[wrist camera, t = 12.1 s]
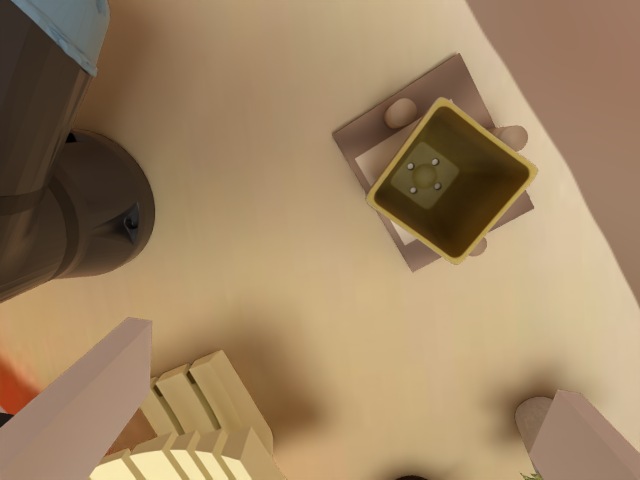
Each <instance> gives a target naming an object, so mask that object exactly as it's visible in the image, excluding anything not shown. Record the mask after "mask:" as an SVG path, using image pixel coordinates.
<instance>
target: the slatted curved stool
mask: <svg viewBox="0 0 640 480" xmlns="http://www.w3.org/2000/svg"><path fill="white" fill-rule="evenodd" d="M139 408H140V409H141V411H142V412H143V414H144V415H145V417H146V418H147V420H148V421H149V423H150V424H151V426H152V428H153V429H154V431H155V433H156V434H157V436H158V437H156V438H154V439H151V440H148V441H145V442H143V443H140V444H137V445H136V447H135V448H134V449H133V451H132V452H131V451H130V450H129V449H128V448H127V449H124V450H121V451H119V452H116V453H113V454H111V455H108V456H105V457H103V458H102V459H101V461H100V462H99V464H98V465H97V466H96V468H95V469H94V470H93V472H92V473H91V475H90V476H89V477H88V479H87V480H287V479H286V477H285V476H284V475H283V473H282V472H281V471H280V469H279V468H278V466H277V465H276V463H275V462H274V461H273V459H272V456H273V436H272V432H271V430H270V428H269V426H268V424H267V423H266V421H265V419H264V418H263V416H262V414H261V413H260V411H259V409H258V408H257V406H256V404H255V403H254V401H253V400H252V398H251V396H250V395H249V393H248V391H247V390H246V388H245V386H244V385H243V383H242V381H241V380H240V378H239V376H238V375H237V373H236V371H235V370H234V368H233V366H232V365H231V363H230V362H229V360H228V358H227V357H226V355H225V353H224V352H223V350H222V349H221V350H219V351H216V352H214V353H212V354H209V355H207V356H204V357H202V358H199V359H197V360H195V361H194V363H193V364H192V366H191V365H190V364H189V363H187V364H185V365H182V366H180V367H177V368H175V369H172V370H170V371H168V372H165V373H163V374H162V376H161V377H160V378H158V376H155V377H153V378H150V393H149V394H148V396H147V397H146V399H145V400H144V401H143V403H142V404H141V405H140V407H139Z"/></svg>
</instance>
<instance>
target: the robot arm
mask: <svg viewBox="0 0 640 480" xmlns="http://www.w3.org/2000/svg"><path fill="white" fill-rule="evenodd" d="M109 23H110V7H109V4H108V0H0V303H2V302H4V301H6V300H9V299H11V298H13V297H15V296H17V295H19V294H22V293H24V292H26V291H28V290H30V289H33V288H35V287H37V286H39V285H41V284H43V283H45V282H47V281H50V280H52V279H62V278H74V277H86V276H95V275H100V274H104V273H107V272H110V271H112V270H114V269H116V268H118V267H120V266H122V265H124V264H126V263H128V262H129V261H131V260H132V259H134V258H135V257H136V256H137V255H138V254H139V253H140V252H141V251H142V250H143V248H144V247H145V245H146V244H147V242H148V240H149V238H150V235H151V232H152V229H153V224H154V201H153V196H152V193H151V189H150V186H149V184H148V181H147V179H146V177H145V175H144V174H143V172H142V170H141V169H140V167H139V166H138V164H137V163H136V162H135V160H134V159H133V158H132V157H131V156H130V155H129V154H128V153H127V152H126V151H125V150H124V149H123V148H121V147H120V146H119V145H117V144H116V143H115V142H113V141H111V140H110V139H108V138H106V137H104V136H102V135H99V134H97V133H94V132H90V131H86V130H80V129H71V127H72V125H73V123H74V120H75V118H76V115H77V113H78V111H79V108H80V106H81V103H82V101H83V99H84V96H85V94H86V91H87V89H88V87H89V84H90V82H91V79H92V77H95V78H96V76H97V73H98V69H97V67H96V65H97V61H98V58H99V54H100V51H101V48H102V45H103V42H104V39H105V36H106V33H107V30H108V27H109ZM151 344H152V321H150V320H144V319H138V318H132V317H128V318H126V319H125V320H124V321H123V322H122V323H121V324H119V325H118V326H117V327H116V328H115V329H114V330H113V331H111V332H110V333H109V334H108V335H107V336H106V337H105V338H103V339H102V340H101V341H100V342H99V343H98V344H96V345H95V346H94V347H93V348H92V349H91V350H90V351H88V352H87V353H86V354H85V355H84V356H83V357H81V358H80V359H79V360H78V361H77V362H76V363H75V364H73V365H72V366H71V367H70V368H69V369H68V370H67V371H65V372H64V373H63V374H62V375H61V376H60V377H58V378H57V379H56V380H55V381H54V382H53V383H52V384H50V385H49V386H48V387H47V388H46V389H45V390H43V391H42V392H41V393H40V394H39V395H38V396H37V397H35V398H34V399H33V400H32V401H31V402H30V403H28V404H27V405H26V406H25V407H24V408H23V409H22V410H20V411H19V412H18V413H17V414H16V415H12V414H6V413H0V480H87V479H88V477H89V476H90V475H91V473H92V472H93V470H94V469H95V468H96V466H97V465H98V464H99V462H100V461H101V459H102V458H103V457H104V455H105V454H106V452H107V451H108V450H109V448H110V447H111V446H112V444H113V443H114V441H115V440H116V439H117V437H118V436H119V435H120V433H121V432H122V430H123V429H124V428H125V426H126V425H127V423H128V422H129V421H130V419H131V418H132V417H133V415H134V414H135V412H136V411H137V410H138V408H139V407H140V405H141V404H142V403H143V401H144V400H145V399H146V397H147V396H148V394H149V393H150V373H151ZM529 457H530V458H531V460H532V462H533V463H534V465H535V467H536V468H537V470H538V471H539V473H540V475H541V476H542V478H543V479H544V480H640V453H639V452H638V451H637V450H636V449H635V448H634V447H633V446H632V445H631V444H630V443H629V442H628V441H627V440H626V439H625V438H624V437H623V436H622V435H621V434H620V433H619V432H618V431H617V430H616V429H615V428H614V427H613V426H612V425H611V424H610V423H609V422H608V421H607V420H606V419H605V418H604V416H603V415H602V414H601V413H600V412H599V411H598V410H597V409H596V408H595V407H594V406H593V405H592V404H591V403H590V402H589V401H588V400H587V399H586V398H585V397H584V396H583V395H582V394H581V393H576V392H570V391H564V390H557V392H556V394H555V397H554V399H553V401H552V404H551V406H550V408H549V410H548V413H547V415H546V417H545V419H544V422H543V424H542V426H541V428H540V431H539V433H538V435H537V438H536V440H535V442H534V444H533V447H532V449H531V451H530V453H529Z"/></svg>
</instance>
